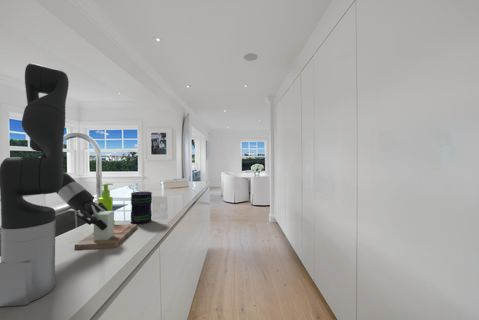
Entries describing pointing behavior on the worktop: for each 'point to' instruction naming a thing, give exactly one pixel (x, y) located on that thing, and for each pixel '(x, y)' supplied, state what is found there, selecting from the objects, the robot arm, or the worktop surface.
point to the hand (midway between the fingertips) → (108, 225)
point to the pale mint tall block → (109, 230)
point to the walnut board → (109, 243)
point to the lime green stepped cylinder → (106, 198)
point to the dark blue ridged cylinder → (141, 207)
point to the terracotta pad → (120, 229)
